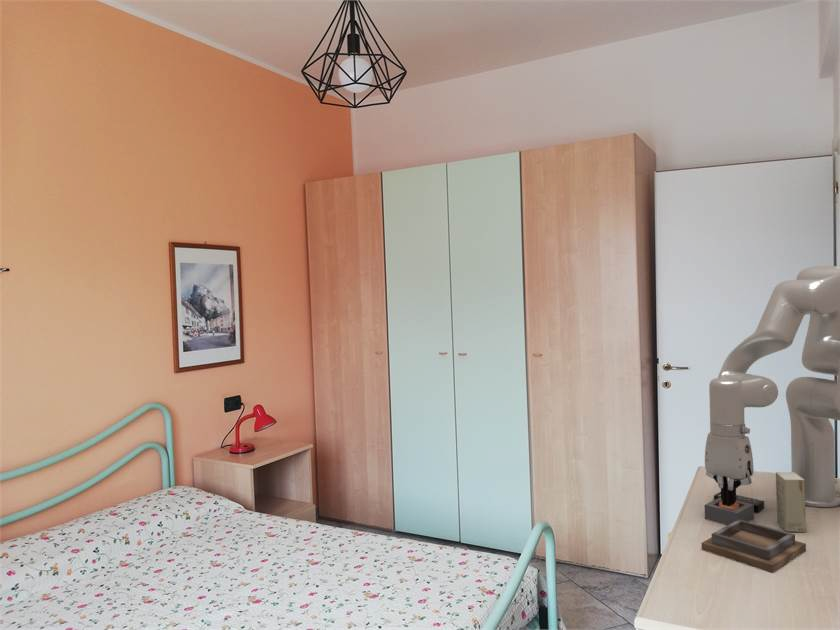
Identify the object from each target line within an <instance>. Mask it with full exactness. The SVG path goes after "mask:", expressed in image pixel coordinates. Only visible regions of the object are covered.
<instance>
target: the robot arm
mask: <svg viewBox="0 0 840 630" xmlns="http://www.w3.org/2000/svg"><path fill="white" fill-rule="evenodd" d="M806 315H809V323H808V325H807V326H808V327H807V332H806V335H805V339H804V344H803V348H802V352H801V353H802V354H801V363H802V364H801V365H802V366H803V367H804V368H805V369H806V370H808V371H810V372H813V373H817V374H825V375H831V376H836V377H837V378H836V380H833V379H828V378H821V377H813V376H800V377H796V378H794V379H793V380H790V382H789V383H788V385H787V387H786V390H785V399H786V400H785V401H786V404H787V408H788V413H789V419H790V449H791V451H790V452H791V456H790V458H791V461H790V462H791V472H795V473H796V474H798V475H799V476H800V477H802V478H803V479H804V489H805V506H809V507H816V508H817V507H818V508H819V507H820V508H832V507H833V508H834V507H837V506H840V494H839V493H837V492H836V484H838V479H837V478H836V477H835V473H836V472H835V468H836V467H835V459H836V458H835V432H834V428H833V425H832V422H831V421H830V420H834V421H840V265H826V266H825V265H824V266H823V265H820V266H810V267H806V268H804V269H802V270H800V271H798V274H797V276H796V279H790V280H788V279H787V280H784V281H781V282H779V283H778V284H777V285H775V287H774V289H773V290H772V293H771V295H770V297H769V300H768V302H767V304H766V306H765V309H764V311H763V313H762V315H761V317H760V320H759V322H758V325H757V327H756V329H755V331H754V332H753V333H752V334H750V335H749V336H748V337H746V338H745V339H744V340H743V341H741V342H740V343H739V344H738V345H737V346H736V347H735V348H734V349H732V350H731V351H730V353H729V354H728V355H727V356H726V358H725V360H724V362H723V365H722V367H721V369H720V371H719V373H718V377H717V378H713V379H711V380H710V382H709V388H708V389H709V396H708V397H709V427H710V428H709V430H710V431H709V432H708V433H707V437H706V440H705V447H704V467H705V475H706V476H707V477H709V478H711V479H714V481H715V482H716V483H717V487H718V488H720V492H721V500H722V505H727V506H731V505H733V504H735V502H736V495H737V489H738V488H739V487H740V486H749V485H751V484H752V483H753V482H752V476H753V475H754V458H753V450H752V444H751V441H750V438H749V436H747V435H749V434H750V433H751V428H749V427H747V426H746V423H745V409H746V408H766V407H769V406H771V405H773V403H775V401H777V398H778V396H779V389H778V385H777V384H776V382H775V381H773V380H772V379H770V378H768V377H766V376H762V375H758V374H757V375H755V374H751V373H750V374H749V373H747V372H748V370H749V369H750V368H751V366H752V365H753V364H754V363H755V362H757V361H759V360H760V359H761V358H764V357H767V356H768V355H769V356H770V355H772V354H774V353H778V352H780V351H783V350H785V349H788V348H789V347H791V346H792V344H793V343H794V340H795V337H796V335H797V333H798V330H799V328H800V326H801V324H802V322H803V319H804V317H805V316H806ZM746 434H747V435H746Z"/></svg>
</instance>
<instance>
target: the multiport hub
mask: <svg viewBox="0 0 840 630" xmlns="http://www.w3.org/2000/svg"><path fill="white" fill-rule="evenodd" d="M720 497H721V491H720V492H718V493H715V494H714V495H713V500H715V499H717V498H720ZM736 500H737V501H741V502H745V503H749V504H753V505H754V514H759V513H760V512H762V511H764V510H765V501H764V500H762V499H757V498H752V497H748V496H742V495H738V494H736Z"/></svg>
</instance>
